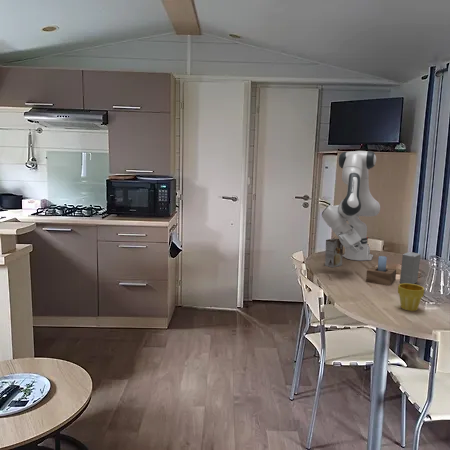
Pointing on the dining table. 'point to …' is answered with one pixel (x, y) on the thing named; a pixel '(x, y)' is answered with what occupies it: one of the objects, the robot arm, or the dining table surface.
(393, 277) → the socket block
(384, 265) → the pin
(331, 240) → the coffee box
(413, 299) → the plant pot
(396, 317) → the dining table surface
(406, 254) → the skincare box
